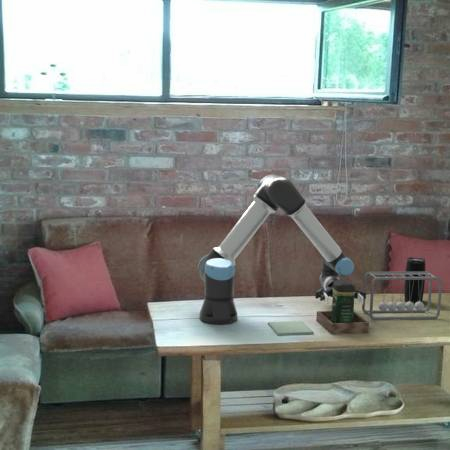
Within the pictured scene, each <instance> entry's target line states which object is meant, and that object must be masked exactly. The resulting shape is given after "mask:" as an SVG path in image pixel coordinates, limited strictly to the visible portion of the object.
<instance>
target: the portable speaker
mask: <svg viewBox="0 0 450 450" xmlns="http://www.w3.org/2000/svg"><path fill="white" fill-rule="evenodd" d="M406 259H407V261H406V266H405V271H404V272H426V259H425V258H423V257H413V256H410V257H407V258H406ZM411 275H412V276H411ZM411 275H410V277H418V274H411ZM420 275H421V276H420ZM404 277H409V275H404ZM419 277H426V274H419ZM404 281H405V284H404V283H403V288H404V290H403V294H404V295H403V296H404V299H403V300H404V302H406V303H407V302H409V280H404ZM413 281H414V283H413ZM422 281H423V284H422ZM425 282H426V280H419V285H418V280H410V300H411V302H412V303H414V304H415V303H416V302H419V301H420V302H422V303H423V298H424V292H425V285H426V283H425ZM412 287H413V290H412ZM421 288H422V291H421ZM411 293H412V296H411ZM420 296H421V299H420Z"/></svg>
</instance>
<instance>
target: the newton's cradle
mask: <svg viewBox="0 0 450 450" xmlns="http://www.w3.org/2000/svg"><path fill="white" fill-rule="evenodd" d="M411 274H418V277H410V275H411ZM419 274H425V275H429V276H425V277H419ZM369 275H370V276H372V277H374V278H373V279H372V280H371V284H370V285H371V286H370V303H369V310H367V309H366V299H364V301H363V305H361V310H362V312H363V313H365V314H368V315H369V318H370V319H371V320H374V321H379V320H380V321H384V320H385V321H386V320H387V321H389V320H390V321H392V320H393V319H395V320H396V319H400V320H436V319H438V318H439V316H440V313H441V304H442V303H441V301H442V293H443V292H442V290H443V280H442V279H443V278H441V277H439V276H435V275H433V274H432V273H431V271H425V272H405V271H367V272H366V273H365V274H364V275H363V285H362V286H363V287H362V292H365V293H366V294H367V291H366V290H367V279H368V276H369ZM375 275H376V276H375ZM378 275H379V276H378ZM380 275H381V276H380ZM386 275H387V276H386ZM389 275H391V276H389ZM395 275H398V276H395ZM399 275H400V276H399ZM405 275H409V277H405ZM411 276H412V275H411ZM420 276H421V275H420ZM405 280H409V302H406V303H405V302H403V300H400V301H398V302H394V300H391V301H390V302H388V303H387V302H385V301H382V302H381V301H380V302H379V303H378V309H376V310H374V309H373V308H374V294H375V293H374V292H375V282H376V281H386V284H385V286H387V283H388V281H395V283H394V285H396V284H397V281H403V282H404V283H403V285H404V284H405ZM410 280H418V285H419V280H425V281H428V280H429V283H428V284H429V285H428V296H427V297H428V298H427V307H426V309H424V308H425V304H424V303H423V301H422V302H420V301H419V302H416V303H415V302H413V301H411V300H410ZM433 280H438V282H439V285H438V294H437V295H438V297H437V308H436V310H437V311H436V314H435V315H432V314H430V313H429V311H430V310H431V302H432V291H433V289H432V287H433ZM413 283H414V281H413ZM422 284H423V281H422ZM395 288H396V287H394V290H393V292H395V291H396V290H395ZM386 289H387V288H385V290H384V293H387V290H386ZM412 290H413V287H412ZM402 291H404V287H403V289H402ZM421 291H422V288H421ZM403 294H404V293H401V298H403V296H404V295H403ZM385 296H386V295H383V299H385V298H386V297H385ZM411 296H412V293H411ZM394 297H395V294H392V299H394ZM420 299H421V296H420ZM397 312H398V313H399V314H401V313H402V314H403V313H405V312H406V313H405V314H407V313H409V312H414V313H426V314H427V315H428V316H423V315H422V316H374V315H373V314H391V313H392V314H393V313H394V314H398V313H397ZM391 319H392V320H391ZM395 320H394V321H395Z"/></svg>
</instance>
